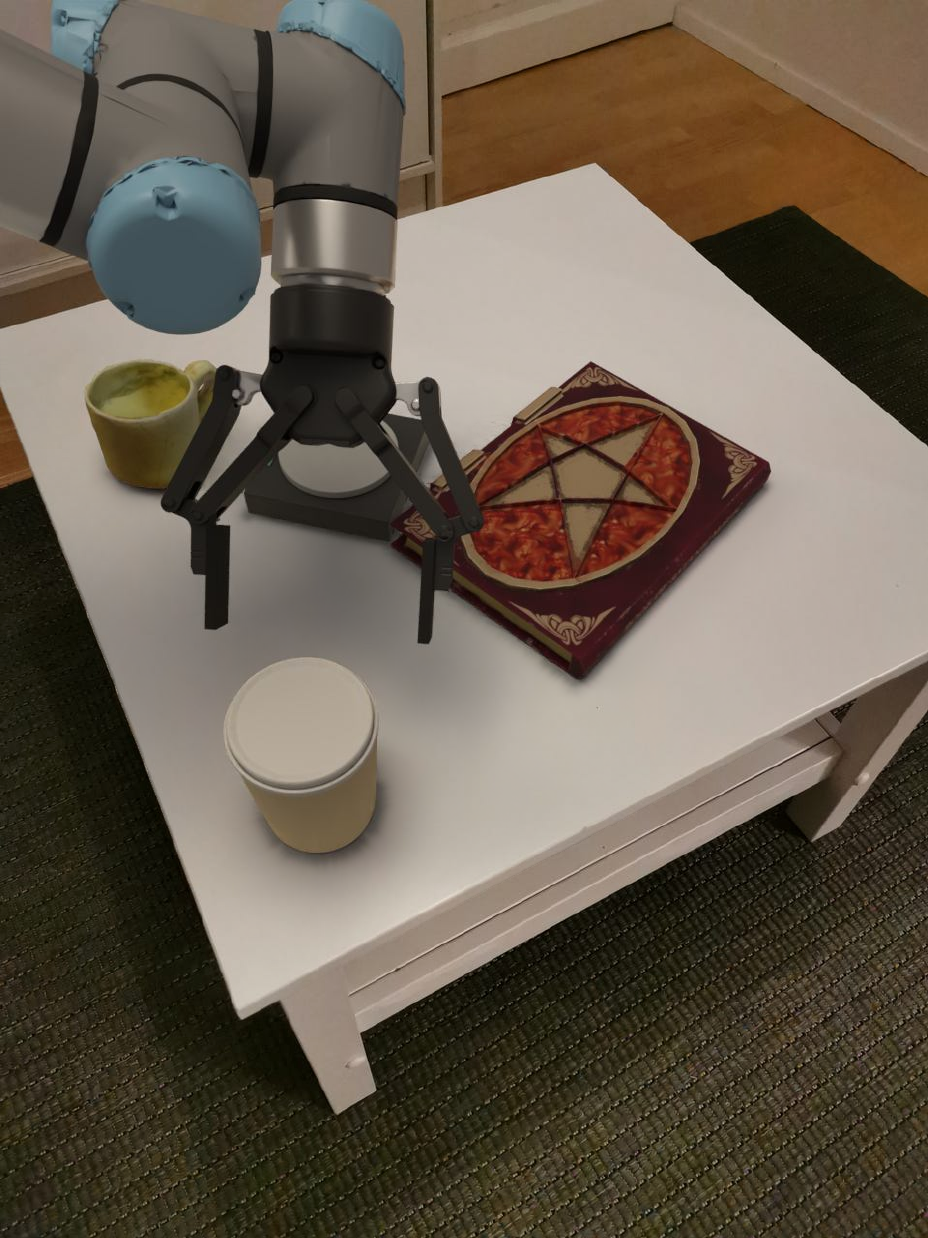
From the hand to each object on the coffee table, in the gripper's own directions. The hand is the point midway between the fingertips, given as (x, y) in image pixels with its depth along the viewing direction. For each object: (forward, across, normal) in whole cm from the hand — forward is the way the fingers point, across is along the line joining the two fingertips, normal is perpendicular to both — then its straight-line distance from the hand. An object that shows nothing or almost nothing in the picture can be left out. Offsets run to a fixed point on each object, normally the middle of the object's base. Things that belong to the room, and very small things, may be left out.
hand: (320, 634), depth 59 cm
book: (-8, -18, -24) cm, 31 cm away
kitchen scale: (-10, +3, -26) cm, 28 cm away
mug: (-11, +19, -28) cm, 36 cm away
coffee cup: (+13, 0, -4) cm, 13 cm away
